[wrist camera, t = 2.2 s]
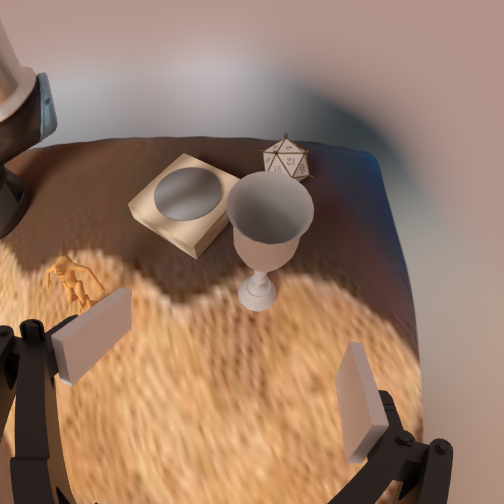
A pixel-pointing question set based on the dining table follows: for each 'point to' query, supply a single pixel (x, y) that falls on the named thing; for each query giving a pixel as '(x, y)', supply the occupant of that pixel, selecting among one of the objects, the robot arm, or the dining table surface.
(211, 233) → the pedestal
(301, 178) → the game die
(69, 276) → the figurine
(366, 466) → the robot arm
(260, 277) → the chalice
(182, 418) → the dining table surface
